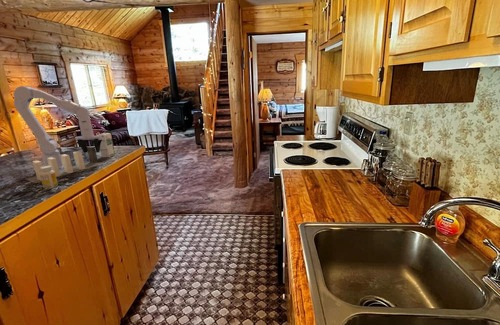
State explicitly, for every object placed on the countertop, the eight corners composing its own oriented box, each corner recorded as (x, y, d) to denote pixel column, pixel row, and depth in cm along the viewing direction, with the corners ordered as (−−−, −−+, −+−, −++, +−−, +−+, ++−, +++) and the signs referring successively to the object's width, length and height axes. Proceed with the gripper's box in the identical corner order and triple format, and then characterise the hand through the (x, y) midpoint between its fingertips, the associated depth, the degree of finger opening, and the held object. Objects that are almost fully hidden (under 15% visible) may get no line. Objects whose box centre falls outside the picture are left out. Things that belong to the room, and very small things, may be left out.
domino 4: (81, 169, 141) (77, 153, 138) (76, 168, 143) (72, 152, 141) (85, 168, 142) (81, 152, 140) (80, 167, 145) (76, 151, 142)
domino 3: (69, 173, 136) (64, 156, 133) (64, 171, 139) (60, 155, 136) (73, 172, 137) (69, 155, 135) (68, 170, 140) (64, 154, 137)
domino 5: (94, 163, 152) (91, 147, 149) (90, 162, 154) (86, 146, 152) (98, 162, 153) (94, 147, 151) (93, 161, 156) (90, 146, 153)
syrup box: (109, 157, 163) (104, 134, 159) (101, 157, 165) (96, 134, 160) (115, 155, 169) (111, 132, 164) (107, 155, 170) (102, 132, 166)
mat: (25, 179, 130) (24, 178, 130) (93, 161, 156) (93, 160, 156) (35, 184, 124) (34, 183, 124) (104, 164, 150) (104, 163, 150)
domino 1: (41, 180, 126) (36, 162, 124) (37, 179, 129) (32, 161, 126) (46, 179, 128) (41, 161, 125) (42, 177, 131) (37, 160, 128)
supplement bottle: (45, 190, 115) (39, 169, 113) (42, 187, 119) (36, 167, 116) (60, 186, 119) (54, 166, 117) (56, 184, 123) (50, 164, 120)
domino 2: (56, 176, 131) (51, 159, 128) (51, 175, 134) (46, 158, 131) (60, 175, 133) (55, 158, 130) (56, 174, 135) (51, 157, 133)
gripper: (69, 130, 145) (75, 154, 149) (93, 129, 144) (99, 153, 148) (78, 128, 152) (83, 151, 156) (102, 127, 150) (107, 150, 154)
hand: (91, 152), depth 152 cm, fingers open, 7 cm apart
